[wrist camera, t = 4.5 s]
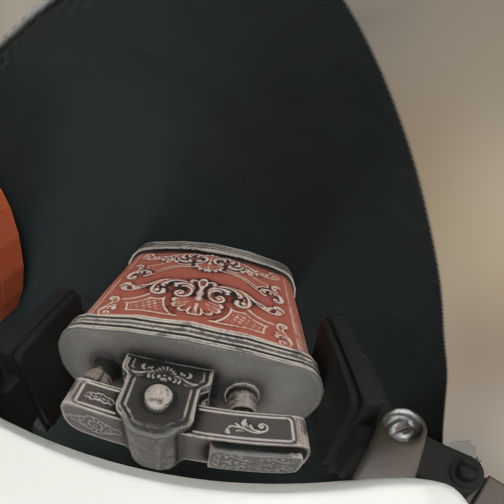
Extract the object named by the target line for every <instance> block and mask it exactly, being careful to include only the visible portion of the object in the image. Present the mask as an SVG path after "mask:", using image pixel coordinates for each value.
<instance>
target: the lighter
mask: <svg viewBox="0 0 504 504" xmlns="http://www.w3.org/2000/svg"><path fill="white" fill-rule="evenodd" d="M295 291H296V288H295V284H294V280H293V277H292V274H291V272H290V271H289V269H288V268H287V266H285V265H283V264H282V263H280V262H277V261H274V260H272V259H269V258H266V257H263V256H260V255H257V254H255V253H252V252H248V251H244V250H240V249H235V248H231V247H227V246H222V245H218V244H209V243H198V242H187V241H169V242H150V243H146V244H144V245H143V246H142V247H140V248H139V249H138V250H137V251H136V252H135V253H134V254H133V256H132V258H131V259H130V261H129V265H128V266H127V268H126V269H125V270H124V271H123V272H122V273H121V274H120V275H119V276H118V277H117V279H116V280H115V281H114V282H113V283H112V284H111V285H110V286H109V288H108V289H107V290H106V291H105V292H104V293H103V294H102V295H101V297H100V298H99V299H98V300H97V301H96V302H95V304H94V305H93V306H92V307H91V308H90V309H89V311H88V312H87V313H86V314H83V315H79V316H77V317H76V318H75V319H74V320H73V321H72V322H71V323H70V324H69V325H68V326H67V328H66V329H65V330H64V331H63V332H62V333H61V336H60V339H59V342H58V346H59V353H60V356H61V359H62V362H63V364H64V366H65V367H66V369H67V370H68V372H69V373H70V375H71V376H72V377H73V378H74V379H75V382H74V384H73V385H72V387H71V389H70V390H69V392H68V393H67V395H66V397H65V398H64V400H63V402H62V404H61V405H60V407H61V411H62V414H63V416H64V418H65V419H66V421H67V422H68V423H69V424H70V425H71V426H72V427H74V428H75V429H77V430H79V431H82V432H84V433H87V434H90V435H93V436H96V437H99V438H102V439H105V440H108V441H111V442H114V443H118V444H121V445H125V446H126V447H127V448H128V449H129V450H130V452H131V456H132V457H133V459H134V460H135V461H136V462H137V463H138V464H140V465H141V466H143V467H147V468H151V469H156V470H167V469H170V468H172V467H174V466H176V465H177V464H178V463H179V462H180V461H183V460H192V461H198V462H205V463H208V464H207V467H210V468H218V469H226V470H236V471H248V472H264V473H292V472H296V471H297V470H298V469H299V468H300V467H301V466H302V464H304V462H305V461H306V460H307V459H308V457H309V455H310V446H309V440H308V434H307V428H306V422H305V420H304V418H305V417H307V416H308V415H309V414H311V413H312V412H313V411H314V410H315V409H316V408H317V406H318V405H319V403H320V401H321V399H322V396H323V392H324V389H323V384H322V380H321V376H320V373H319V369H318V365H317V363H316V362H315V361H314V360H313V358H312V357H311V356H310V355H309V354H308V350H307V346H306V342H305V338H304V334H303V330H302V326H301V322H300V318H299V314H298V310H297V307H296V303H295V299H294V298H295Z"/></svg>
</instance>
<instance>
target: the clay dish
mask: <svg viewBox="0 0 504 504" xmlns="http://www.w3.org/2000/svg"><path fill="white" fill-rule="evenodd" d="M10 208H11V207H10V205H9V203H8V202H7V200H6V198H5V196H4V194H3V192H2V189H1V187H0V323H1V322H2V321H3V320H4V319H5V318H6V317H7V316H8V315H9V314H10V313H11V312H12V311H13V310H14V309H15V308H16V307H17V306H18V302H19V299H20V296H21V293H22V291H23V274H24V265H23V258H22V251H21V244H20V238H19V233H18V230H17V227H16V224H15V221H14V217H13V214H12V210H11V209H10Z"/></svg>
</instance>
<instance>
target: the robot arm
mask: <svg viewBox="0 0 504 504" xmlns="http://www.w3.org/2000/svg"><path fill="white" fill-rule="evenodd" d="M79 315H83V310H82V304H81V299H80V296H79V295H78V294H77V293H76V291H75V290H72V289H66V288H59V289H58V290H57V291H56V292H55V293H54V294H53V295H51V296H50V297H49V298H48V299H47V300H46V301H45V302H44V303H43V304H42V305H41V306H40V307H38V308H37V309H36V310H35V311H34V312H33V313H32V314H31V315H30V316H29V317H28V318H27V319H26V320H25V321H24V322H23V323H22V324H21V325H20V326H19V327H18V328H17V329H16V330H15V331H14V332H13V333H12V334H11V335H10V336H9V337H8V338H7V339H6V340H5V341H4V342H3V343H2V344H1V345H0V504H504V484H502V483H501V482H499V481H498V480H496V479H494V478H493V477H491V476H488V477H487V478H485V477H484V471H483V468H482V466H481V464H480V463H479V462H478V461H477V460H476V459H475V458H473V457H472V456H469V455H467V454H465V453H462V452H460V451H458V450H455V449H453V448H451V447H449V446H446V445H444V444H442V443H440V442H438V441H436V440H433V439H431V438H429V437H427V426H426V423H425V421H424V420H423V418H422V417H421V416H420V415H419V414H417V413H416V412H414V411H412V410H410V409H406V408H393V409H392V407H391V405H390V403H389V401H388V398H387V396H386V394H385V392H384V390H383V387H382V385H381V383H380V381H379V379H378V377H377V375H376V373H375V370H374V368H373V366H372V364H371V362H370V360H369V358H368V357H367V355H365V354H363V353H362V351H361V349H360V347H359V345H358V343H357V341H356V338H355V336H354V334H353V332H352V330H351V328H350V326H349V324H348V322H347V320H346V318H345V317H335V316H328V317H327V319H326V320H322V321H321V323H320V327H319V331H318V335H317V339H316V343H315V347H314V351H313V355H312V358H313V360H314V361H315V362H316V363H317V365H318V369H319V373H320V376H321V380H322V384H323V389H324V392H323V396H322V399H321V401H320V403H319V405H318V406H317V408H316V409H315V410H314V411H313V412H312V413H311V420H312V425H313V430H314V436H315V441H316V447H317V452H318V458H319V462H320V465H325V467H326V472H327V474H328V473H338V477H340V478H342V480H341V481H335V482H322V483H301V484H254V483H234V482H221V481H211V480H202V479H194V478H187V477H180V476H174V475H168V474H163V473H158V472H152V471H148V470H143V469H139V468H134V467H130V466H126V465H122V464H118V463H115V462H111V461H108V460H104V459H101V458H97V457H94V456H91V455H88V454H85V453H82V452H79V451H76V450H73V449H70V448H68V447H65V446H62V445H60V444H57V443H55V442H52V441H50V440H47V439H45V438H42V437H40V436H38V435H35V434H33V433H32V431H31V427H32V426H33V424H34V426H35V427H36V428H38V429H41V430H43V431H45V432H47V431H48V429H49V428H50V426H51V425H54V424H55V423H56V421H57V419H58V418H59V416H60V414H61V412H62V411H61V407H60V405H61V404H62V402H63V400H64V398H65V397H66V395H67V393H68V392H69V390H70V389H71V387H72V385H73V384H74V382H75V379H74V378H73V377H72V376H71V375H70V373H69V372H68V370H67V369H66V367H65V366H64V364H63V362H62V359H61V356H60V353H59V346H58V342H59V339H60V336H61V333H62V332H63V331H64V330H65V329H66V328H67V326H68V325H69V324H70V323H71V322H72V321H73V320H74V319H75V318H76V317H77V316H79Z"/></svg>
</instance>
